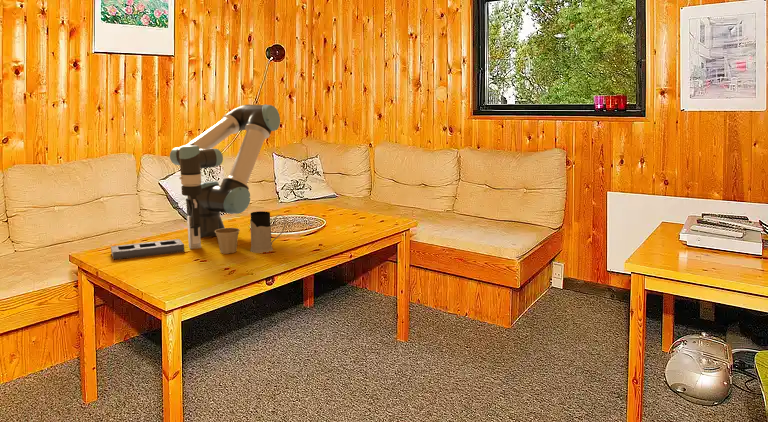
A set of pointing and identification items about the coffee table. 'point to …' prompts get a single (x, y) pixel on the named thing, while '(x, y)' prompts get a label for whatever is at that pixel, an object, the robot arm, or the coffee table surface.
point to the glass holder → (262, 232)
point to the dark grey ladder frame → (147, 249)
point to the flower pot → (227, 239)
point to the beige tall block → (191, 246)
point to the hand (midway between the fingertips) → (194, 241)
